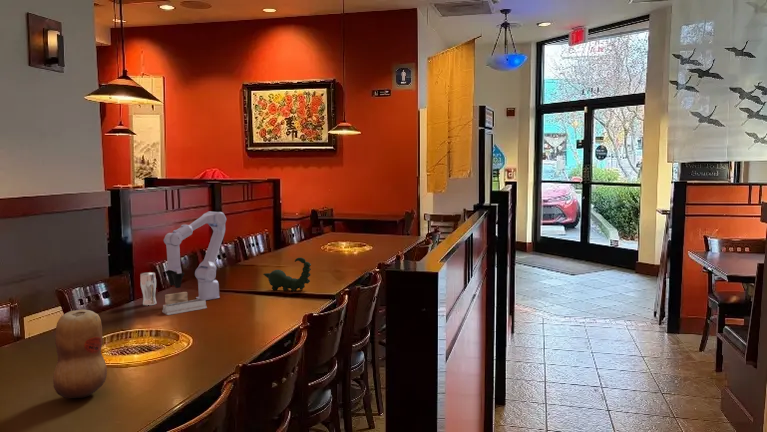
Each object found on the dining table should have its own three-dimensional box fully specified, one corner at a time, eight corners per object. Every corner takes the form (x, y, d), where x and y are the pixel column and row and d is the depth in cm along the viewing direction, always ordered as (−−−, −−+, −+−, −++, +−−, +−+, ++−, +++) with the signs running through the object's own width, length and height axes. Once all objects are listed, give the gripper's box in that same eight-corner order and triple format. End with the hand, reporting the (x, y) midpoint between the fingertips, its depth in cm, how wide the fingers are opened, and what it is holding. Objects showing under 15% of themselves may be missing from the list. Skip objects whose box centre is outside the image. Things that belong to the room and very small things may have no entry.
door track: (201, 305, 260) (200, 298, 260) (206, 308, 255) (206, 300, 255) (162, 312, 249) (162, 304, 249) (167, 315, 244) (167, 307, 243)
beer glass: (160, 302, 267) (158, 272, 266) (152, 305, 260) (150, 275, 259) (146, 302, 268) (144, 272, 266) (139, 305, 261) (137, 275, 260)
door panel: (186, 303, 264) (186, 291, 264) (187, 304, 263) (187, 292, 262) (165, 307, 258) (165, 294, 257) (166, 308, 257) (166, 295, 256)
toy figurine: (310, 291, 293) (265, 287, 294) (312, 256, 291) (267, 252, 293) (306, 295, 283) (259, 291, 285) (308, 259, 281) (261, 255, 283)
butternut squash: (78, 409, 149) (71, 320, 147) (43, 402, 154) (37, 316, 152) (119, 390, 162) (114, 307, 160) (86, 384, 167) (81, 304, 165)
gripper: (160, 257, 261) (161, 285, 263) (170, 261, 250) (171, 290, 251) (175, 255, 266) (176, 282, 267) (185, 259, 255) (187, 287, 256)
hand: (175, 286), depth 260 cm, fingers open, 7 cm apart
